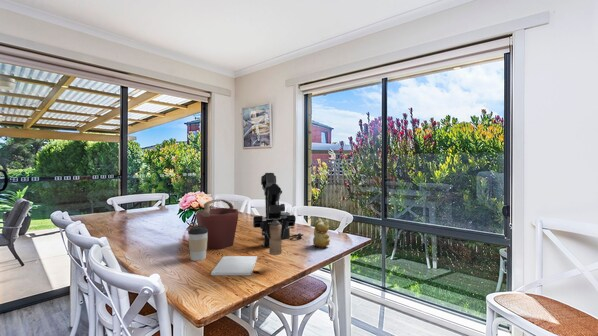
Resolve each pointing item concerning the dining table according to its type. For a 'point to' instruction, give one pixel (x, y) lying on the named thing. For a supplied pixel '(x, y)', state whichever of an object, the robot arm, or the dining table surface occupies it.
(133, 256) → the dining table surface
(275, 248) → the pepper mill
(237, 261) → the ceramic tile
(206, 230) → the coffee cup
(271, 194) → the robot arm
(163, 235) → the dining table surface
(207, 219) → the bucket
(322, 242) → the decorative figurine
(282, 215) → the milk frother
